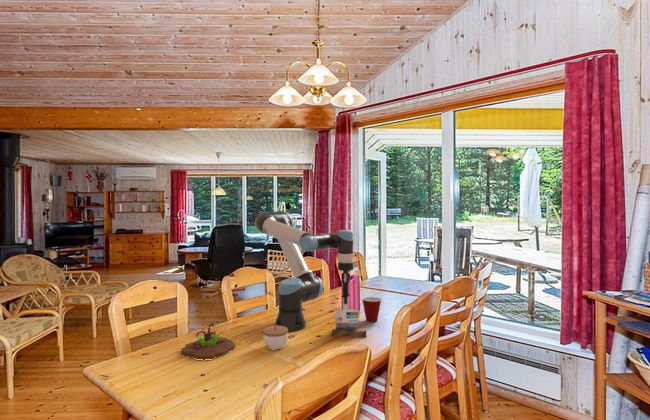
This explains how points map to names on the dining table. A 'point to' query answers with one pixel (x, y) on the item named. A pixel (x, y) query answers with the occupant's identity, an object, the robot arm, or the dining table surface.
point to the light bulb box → (347, 319)
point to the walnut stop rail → (349, 333)
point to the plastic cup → (371, 308)
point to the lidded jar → (275, 336)
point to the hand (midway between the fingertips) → (345, 309)
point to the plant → (208, 346)
